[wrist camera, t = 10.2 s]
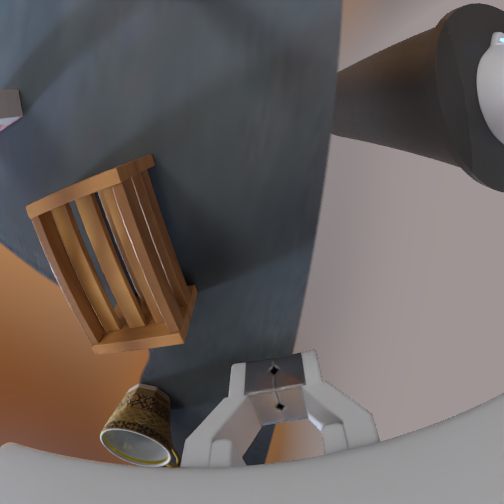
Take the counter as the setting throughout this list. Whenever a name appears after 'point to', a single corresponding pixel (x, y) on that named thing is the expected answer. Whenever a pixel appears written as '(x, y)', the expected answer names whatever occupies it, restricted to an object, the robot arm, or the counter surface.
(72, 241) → the slatted rack
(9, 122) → the tea box
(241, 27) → the counter surface
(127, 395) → the ceramic cup
